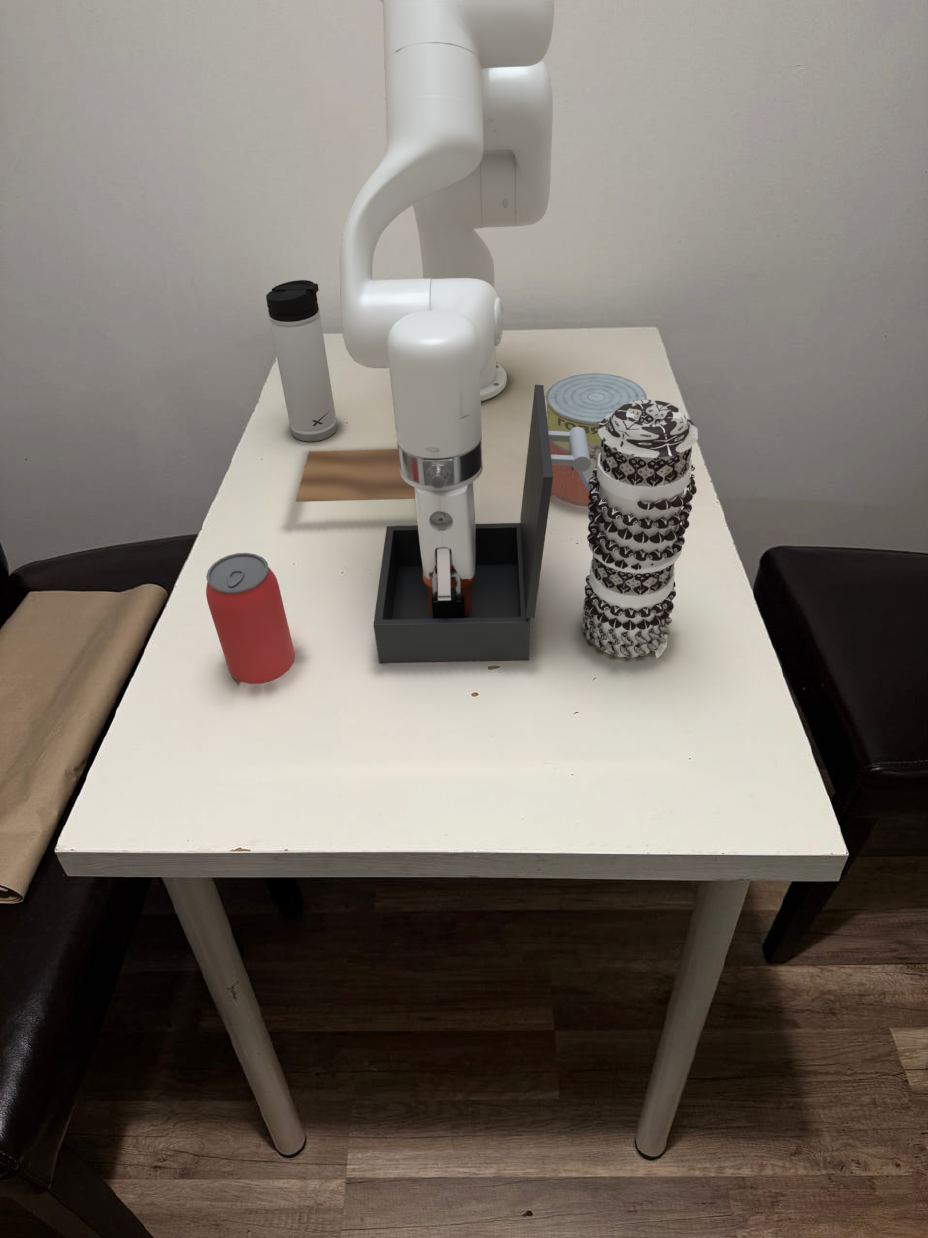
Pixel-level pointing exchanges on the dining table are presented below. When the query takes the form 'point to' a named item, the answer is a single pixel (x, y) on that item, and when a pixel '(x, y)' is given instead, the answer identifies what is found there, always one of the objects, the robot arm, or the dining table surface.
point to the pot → (464, 587)
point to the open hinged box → (478, 637)
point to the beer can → (249, 618)
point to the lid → (543, 489)
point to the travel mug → (302, 359)
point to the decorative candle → (637, 526)
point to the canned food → (583, 424)
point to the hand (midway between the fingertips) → (450, 604)
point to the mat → (353, 476)
